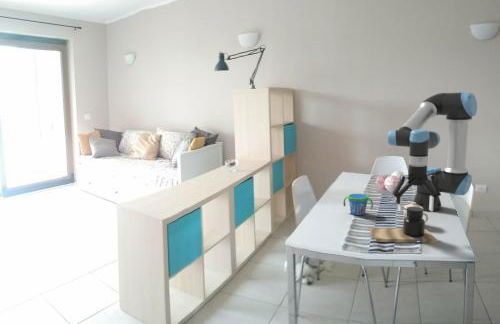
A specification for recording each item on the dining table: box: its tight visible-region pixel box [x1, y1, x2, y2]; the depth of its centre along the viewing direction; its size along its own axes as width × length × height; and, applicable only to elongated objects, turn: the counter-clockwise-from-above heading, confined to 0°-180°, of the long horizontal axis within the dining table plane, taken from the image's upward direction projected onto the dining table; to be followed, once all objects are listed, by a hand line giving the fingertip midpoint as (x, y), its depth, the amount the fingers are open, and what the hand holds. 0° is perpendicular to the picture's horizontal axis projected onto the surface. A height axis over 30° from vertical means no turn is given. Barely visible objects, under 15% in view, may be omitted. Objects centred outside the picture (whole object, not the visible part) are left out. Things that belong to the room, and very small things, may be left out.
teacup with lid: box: [402, 201, 429, 223], centre depth 184 cm, size 12×9×12 cm
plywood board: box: [369, 227, 438, 244], centre depth 171 cm, size 26×13×2 cm, turn 84°
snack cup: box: [343, 193, 374, 216], centre depth 203 cm, size 16×10×10 cm
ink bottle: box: [402, 207, 426, 237], centre depth 169 cm, size 10×9×12 cm
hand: (415, 210), depth 168 cm, fingers open, 13 cm apart
